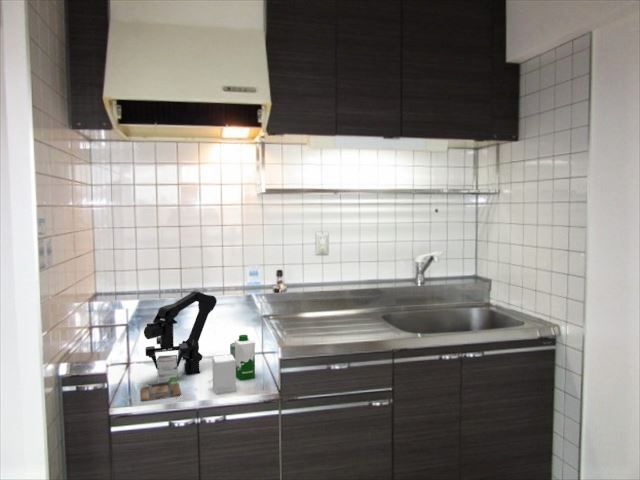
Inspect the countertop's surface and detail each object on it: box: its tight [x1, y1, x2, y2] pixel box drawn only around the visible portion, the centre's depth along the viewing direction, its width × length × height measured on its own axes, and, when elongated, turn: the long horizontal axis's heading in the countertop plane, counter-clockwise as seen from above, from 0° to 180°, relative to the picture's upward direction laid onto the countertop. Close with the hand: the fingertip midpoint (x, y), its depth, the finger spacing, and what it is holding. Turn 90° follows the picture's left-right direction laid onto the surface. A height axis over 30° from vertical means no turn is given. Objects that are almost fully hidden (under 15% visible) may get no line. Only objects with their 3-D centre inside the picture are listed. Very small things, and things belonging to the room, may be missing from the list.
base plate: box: [140, 381, 182, 402], centre depth 204 cm, size 16×14×2 cm
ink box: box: [156, 354, 179, 383], centre depth 218 cm, size 9×5×12 cm, turn 100°
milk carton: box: [234, 334, 256, 381], centre depth 221 cm, size 9×9×20 cm
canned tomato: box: [229, 342, 235, 359], centre depth 240 cm, size 8×8×11 cm
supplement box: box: [212, 354, 237, 396], centre depth 205 cm, size 9×9×15 cm
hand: (167, 367), depth 217 cm, fingers closed on ink box, 9 cm apart
